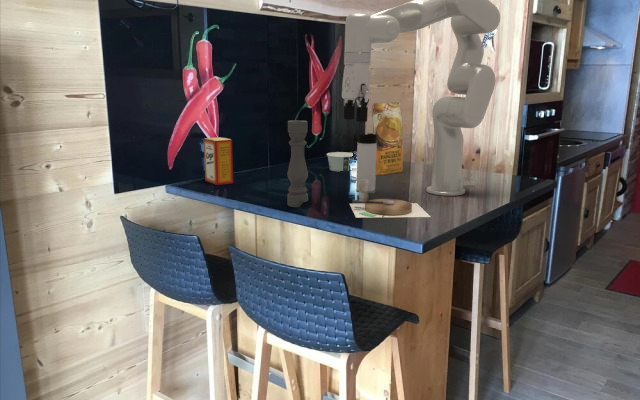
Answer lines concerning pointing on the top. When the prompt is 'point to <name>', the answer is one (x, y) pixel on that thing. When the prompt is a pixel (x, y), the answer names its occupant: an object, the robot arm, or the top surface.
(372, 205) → the dial
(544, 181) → the top surface
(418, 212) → the dial plate
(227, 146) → the baking soda box
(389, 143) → the pancake mix bag
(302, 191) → the candle holder
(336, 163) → the food container
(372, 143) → the travel mug
